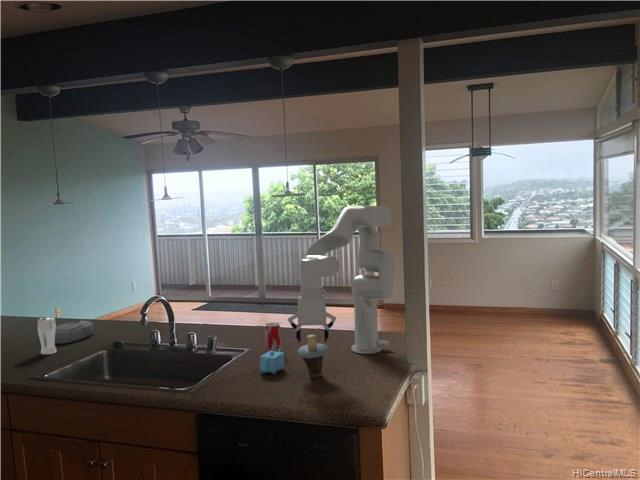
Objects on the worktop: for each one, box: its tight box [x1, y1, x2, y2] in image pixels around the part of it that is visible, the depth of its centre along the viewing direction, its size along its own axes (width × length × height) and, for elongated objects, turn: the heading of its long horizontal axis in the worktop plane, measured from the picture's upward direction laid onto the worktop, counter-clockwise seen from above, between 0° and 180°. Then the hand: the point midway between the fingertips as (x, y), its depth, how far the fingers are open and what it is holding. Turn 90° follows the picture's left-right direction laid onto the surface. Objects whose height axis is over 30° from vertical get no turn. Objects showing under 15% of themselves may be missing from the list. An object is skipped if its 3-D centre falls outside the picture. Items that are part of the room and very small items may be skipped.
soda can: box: [263, 322, 283, 353], centre depth 209 cm, size 7×7×12 cm
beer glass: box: [37, 316, 58, 356], centre depth 216 cm, size 7×7×15 cm
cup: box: [301, 355, 325, 379], centre depth 179 cm, size 8×8×9 cm
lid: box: [297, 334, 329, 359], centre depth 178 cm, size 11×11×6 cm
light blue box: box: [259, 348, 285, 375], centre depth 187 cm, size 12×6×8 cm, turn 156°
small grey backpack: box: [55, 319, 95, 344], centre depth 238 cm, size 15×8×20 cm
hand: (312, 340), depth 178 cm, fingers open, 9 cm apart
